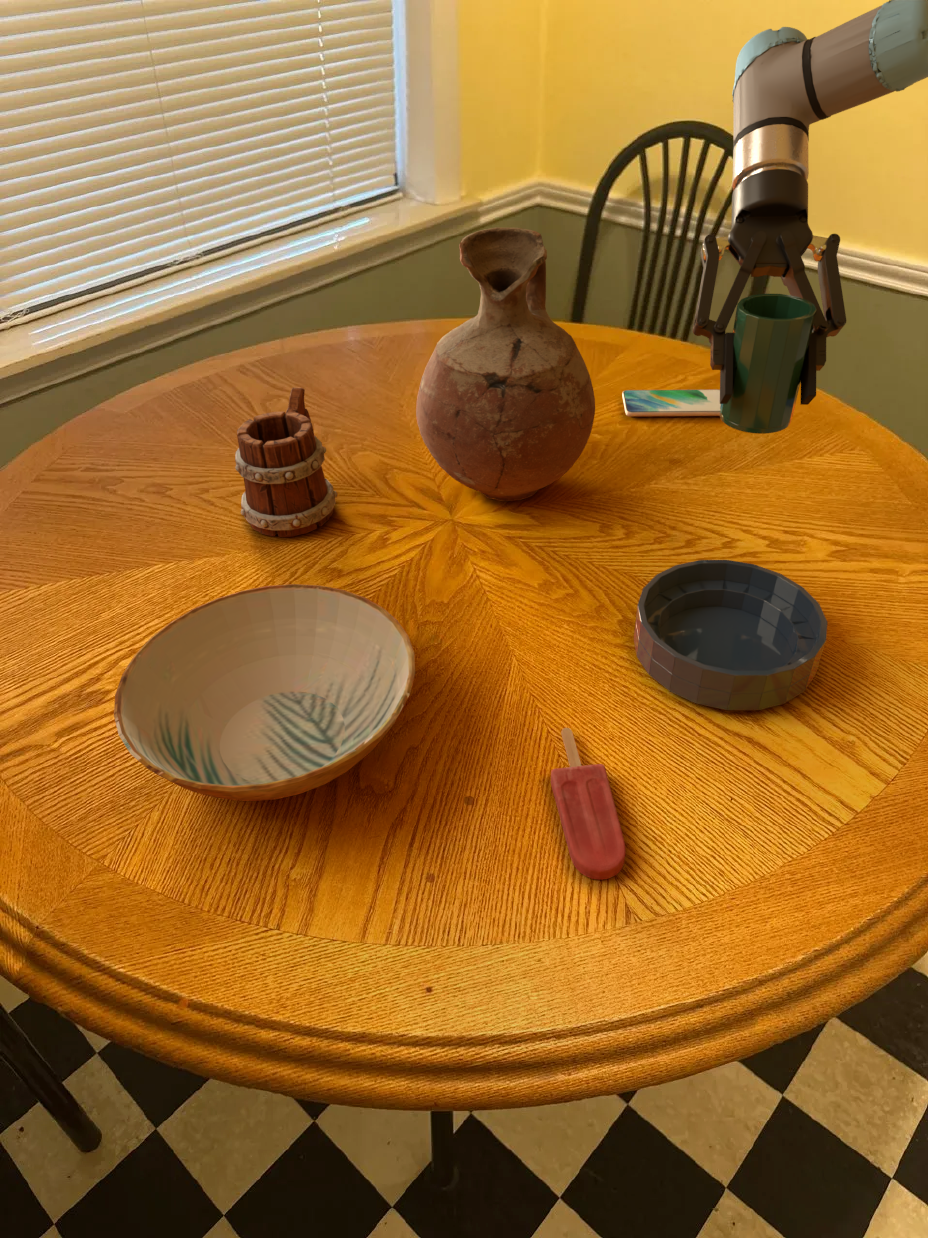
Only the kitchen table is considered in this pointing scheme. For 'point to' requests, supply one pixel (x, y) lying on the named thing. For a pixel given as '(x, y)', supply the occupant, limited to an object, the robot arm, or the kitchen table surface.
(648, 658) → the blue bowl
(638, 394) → the smartphone
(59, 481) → the kitchen table surface
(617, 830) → the popsicle
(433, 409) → the jug
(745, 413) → the green cup
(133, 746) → the bowl
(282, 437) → the mug
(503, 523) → the kitchen table surface
